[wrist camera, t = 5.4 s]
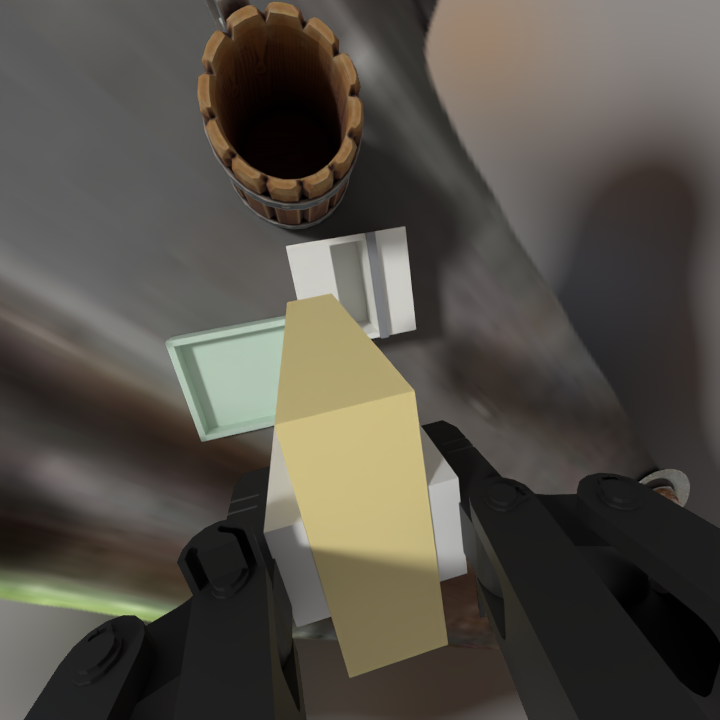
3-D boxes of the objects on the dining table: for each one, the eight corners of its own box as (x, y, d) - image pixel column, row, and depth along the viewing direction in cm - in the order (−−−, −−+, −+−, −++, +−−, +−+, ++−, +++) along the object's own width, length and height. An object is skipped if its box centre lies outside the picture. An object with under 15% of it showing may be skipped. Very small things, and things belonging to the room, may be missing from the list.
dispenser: (307, 335, 36) (309, 353, 30) (288, 246, 33) (285, 246, 27) (398, 317, 37) (418, 331, 31) (387, 229, 34) (407, 225, 28)
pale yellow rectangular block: (314, 412, 21) (349, 677, 8) (287, 302, 19) (274, 425, 6) (353, 403, 22) (448, 644, 8) (331, 293, 19) (414, 390, 6)
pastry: (622, 471, 51) (652, 491, 47) (690, 459, 53) (726, 478, 48) (608, 534, 55) (635, 558, 50) (672, 521, 56) (703, 543, 52)
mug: (366, 199, 33) (416, 163, 19) (269, 249, 33) (247, 250, 19) (284, 6, 28) (269, -246, 13) (167, 66, 27) (30, -125, 13)
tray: (206, 432, 38) (201, 441, 36) (172, 336, 34) (164, 341, 32) (314, 408, 39) (315, 416, 37) (292, 313, 35) (292, 317, 33)
